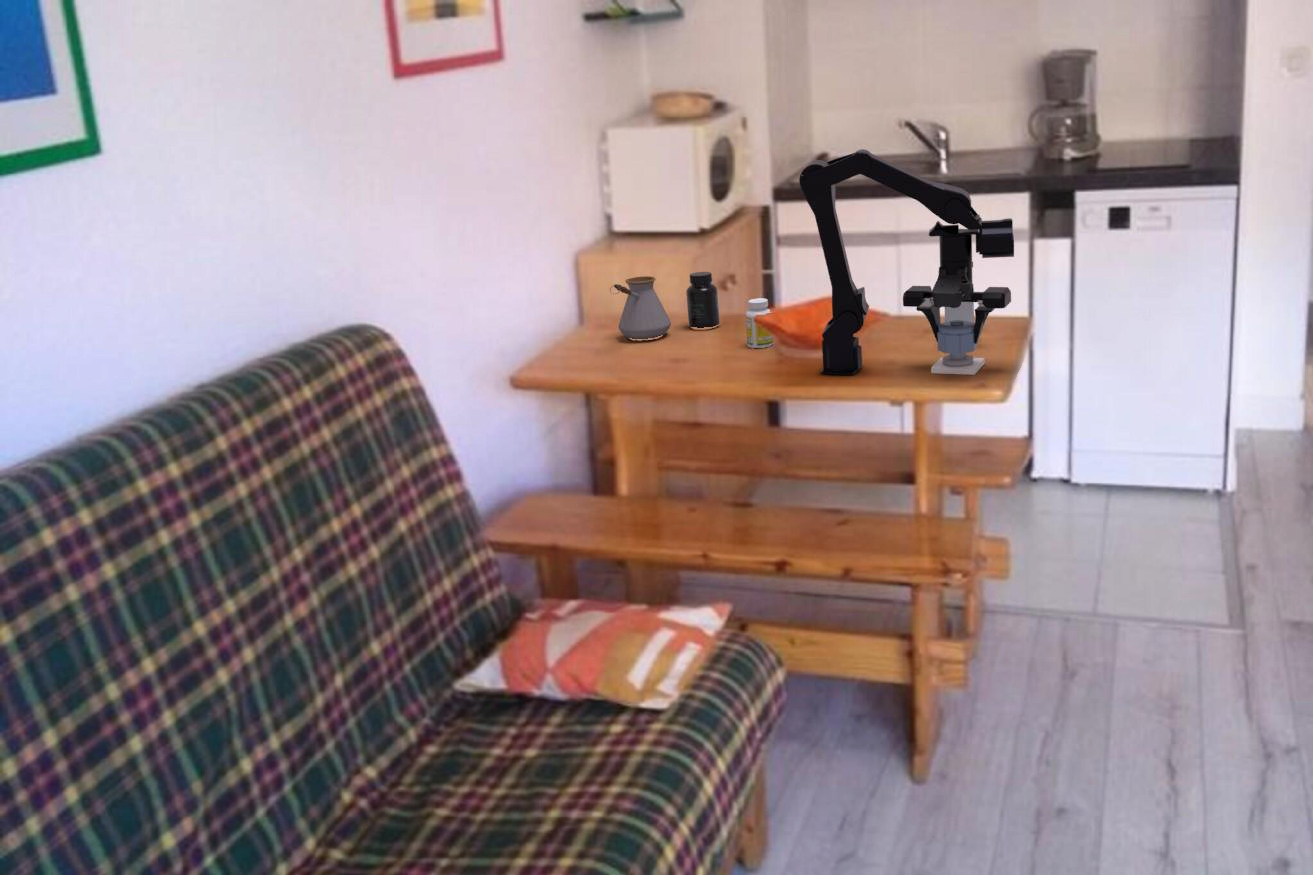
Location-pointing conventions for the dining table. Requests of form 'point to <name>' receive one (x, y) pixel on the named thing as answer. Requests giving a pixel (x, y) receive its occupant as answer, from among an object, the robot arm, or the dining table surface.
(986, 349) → the dining table surface
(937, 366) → the two-tone square knobbed fixture
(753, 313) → the supplement bottle
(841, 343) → the robot arm
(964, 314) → the small box
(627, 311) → the coffee pot
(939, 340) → the cap
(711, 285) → the supplement bottle
